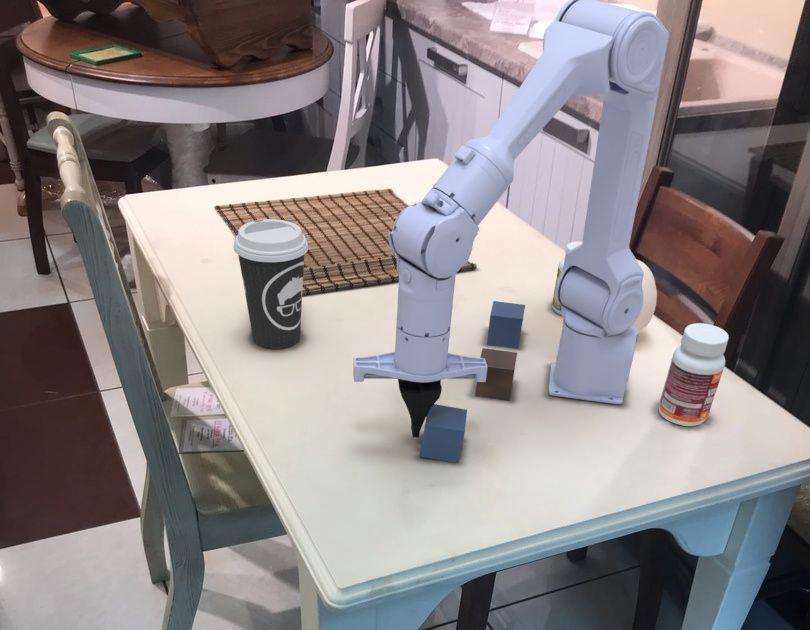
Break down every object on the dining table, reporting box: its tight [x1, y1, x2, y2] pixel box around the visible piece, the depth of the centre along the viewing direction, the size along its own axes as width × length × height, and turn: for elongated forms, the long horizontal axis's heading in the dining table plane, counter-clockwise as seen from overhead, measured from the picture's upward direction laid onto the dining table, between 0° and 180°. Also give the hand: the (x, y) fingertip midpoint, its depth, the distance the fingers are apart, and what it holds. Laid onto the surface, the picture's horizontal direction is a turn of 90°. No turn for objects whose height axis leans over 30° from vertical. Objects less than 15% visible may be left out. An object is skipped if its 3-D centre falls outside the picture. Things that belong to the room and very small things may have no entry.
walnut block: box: [474, 347, 518, 401], centre depth 107 cm, size 4×4×4 cm
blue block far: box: [486, 300, 526, 349], centre depth 117 cm, size 4×4×4 cm
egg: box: [631, 259, 658, 335], centre depth 117 cm, size 9×9×12 cm
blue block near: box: [419, 403, 468, 464], centre depth 96 cm, size 4×4×4 cm
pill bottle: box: [658, 322, 730, 427], centre depth 102 cm, size 6×6×11 cm
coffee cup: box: [233, 218, 309, 350], centre depth 111 cm, size 10×10×15 cm
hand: (415, 432), depth 97 cm, fingers closed, pressing on blue block near
